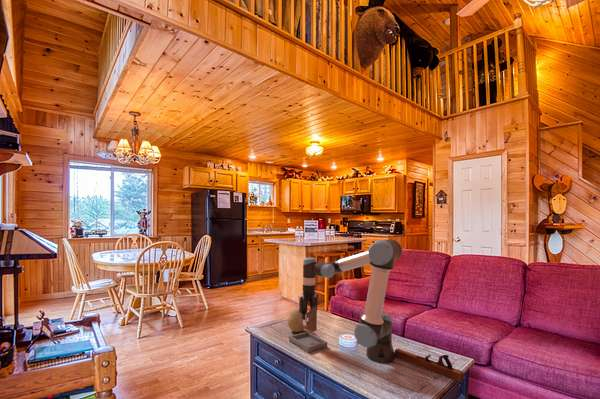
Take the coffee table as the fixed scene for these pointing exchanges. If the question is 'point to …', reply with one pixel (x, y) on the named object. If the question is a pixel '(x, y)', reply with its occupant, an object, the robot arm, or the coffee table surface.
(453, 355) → the coffee table surface
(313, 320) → the brown wooden piece
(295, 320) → the fossilized egg
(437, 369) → the hand plane
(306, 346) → the tray
